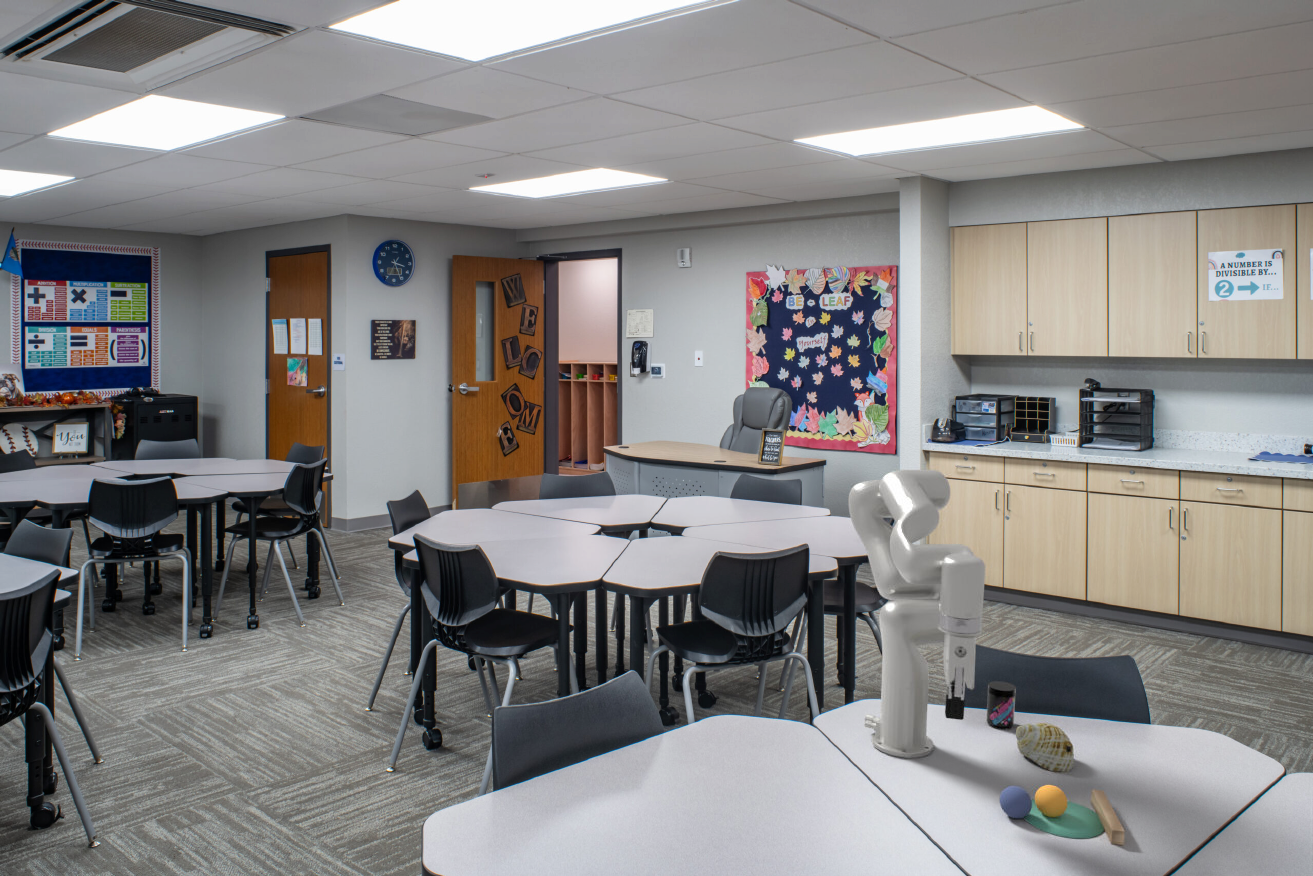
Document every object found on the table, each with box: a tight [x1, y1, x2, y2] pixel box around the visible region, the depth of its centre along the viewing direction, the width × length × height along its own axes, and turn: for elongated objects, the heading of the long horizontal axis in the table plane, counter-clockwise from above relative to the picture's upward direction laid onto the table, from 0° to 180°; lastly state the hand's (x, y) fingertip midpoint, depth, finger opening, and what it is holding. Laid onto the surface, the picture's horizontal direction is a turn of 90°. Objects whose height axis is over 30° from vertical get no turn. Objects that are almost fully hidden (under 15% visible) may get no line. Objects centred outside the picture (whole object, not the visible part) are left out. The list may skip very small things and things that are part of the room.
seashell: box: [1015, 722, 1075, 773], centre depth 194 cm, size 11×10×10 cm
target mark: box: [1023, 798, 1105, 839], centre depth 171 cm, size 14×14×1 cm
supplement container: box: [986, 680, 1017, 730], centre depth 212 cm, size 6×6×9 cm
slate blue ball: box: [999, 785, 1033, 819], centre depth 171 cm, size 6×6×6 cm
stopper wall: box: [1090, 789, 1126, 846], centre depth 169 cm, size 2×15×2 cm, turn 168°
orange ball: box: [1034, 784, 1068, 817], centre depth 172 cm, size 6×6×6 cm
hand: (954, 717), depth 176 cm, fingers closed
